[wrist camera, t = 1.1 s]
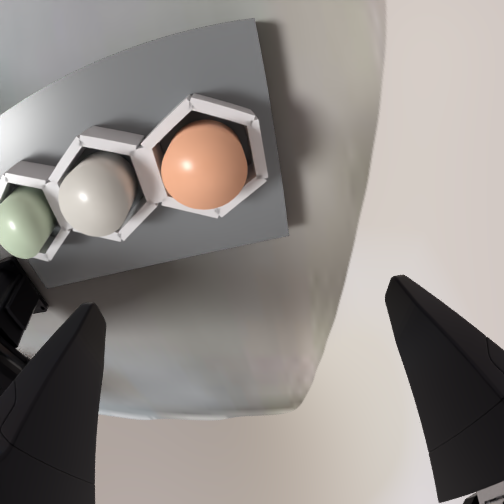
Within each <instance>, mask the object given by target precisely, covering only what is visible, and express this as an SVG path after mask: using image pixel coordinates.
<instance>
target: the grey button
mask: <svg viewBox="0 0 504 504" xmlns="http://www.w3.org/2000/svg"><path fill="white" fill-rule="evenodd" d="M137 189H138V182H137V177H136V174H135V171H134V169H133V168H132V166H131V165H130V164H129V162H128V161H127V160H126V159H124V158H123V157H121V156H120V155H118V154H115V153H112V152H107V151H100V152H96V153H93V154H91V155H89V156H87V157H86V158H85V159H84V160H82V161H81V162H80V163H79V164H78V165H77V166H76V167H75V168H74V169H73V170H72V171H71V172H70V173H69V174H68V175H67V176H66V177H65V179H64V180H63V182H62V183H61V186H60V189H59V195H58V201H59V206H60V210H61V212H62V214H63V216H64V218H65V219H66V221H67V222H68V223H69V224H70V225H71V226H72V227H73V228H74V229H76V230H77V231H79V232H81V233H83V234H85V235H88V236H94V237H102V236H107V235H110V234H112V233H114V232H115V231H117V230H118V229H119V228H120V227H121V226H122V224H123V223H124V221H125V219H126V217H127V215H128V212H129V210H130V208H131V206H132V204H133V201H134V199H135V197H136V194H137Z"/></svg>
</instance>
